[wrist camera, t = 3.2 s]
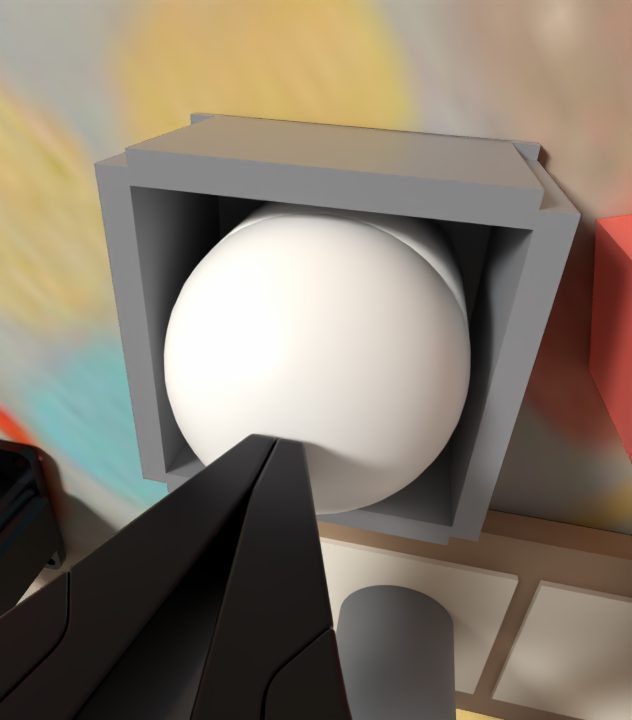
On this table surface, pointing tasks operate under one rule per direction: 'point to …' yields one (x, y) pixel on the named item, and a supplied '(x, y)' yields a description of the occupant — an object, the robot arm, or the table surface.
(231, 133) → the dome housing
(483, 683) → the game board
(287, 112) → the table surface
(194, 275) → the dome
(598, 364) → the red die
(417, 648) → the pawn
